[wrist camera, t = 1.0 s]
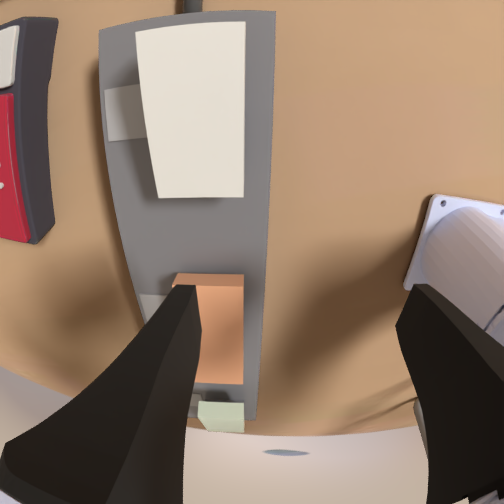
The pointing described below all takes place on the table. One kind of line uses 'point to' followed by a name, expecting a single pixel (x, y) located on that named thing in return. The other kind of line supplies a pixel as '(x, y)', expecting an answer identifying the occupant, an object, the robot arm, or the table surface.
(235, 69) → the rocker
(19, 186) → the calculator
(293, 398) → the table surface
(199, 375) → the rocker middle
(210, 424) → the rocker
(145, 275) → the power strip
